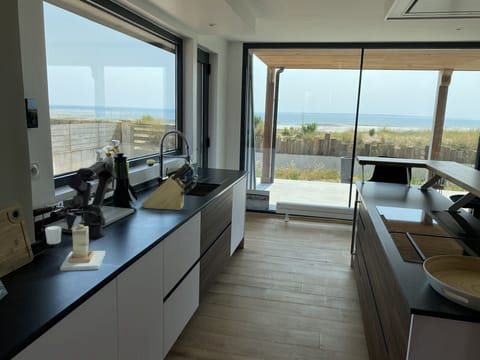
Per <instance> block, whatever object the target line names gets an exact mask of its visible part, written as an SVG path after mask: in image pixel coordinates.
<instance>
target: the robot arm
mask: <svg viewBox="0 0 480 360" xmlns="http://www.w3.org/2000/svg"><path fill="white" fill-rule="evenodd" d="M115 177H116V170H115V168H114V166H111V165H110V164H109V163H108V162H107V161H104V160H102V161H101V160H98V161H96V162H94V163H93V164H92V165H90V166H88V167H81V168H79V169H78V170H77V172H76V173H74V175H73V176H72V177H70V179H69V180H68V182H67V184H68V187H69V188H70V189H72V190H73V191H74V192H76V194H75V195H74V196H72V199H63V200H62V205H63V207H61V208H60V209H59V210H60V211H59V214H61V215H62V216H64V217H65V220H66V225H67V230H68V231H71V230H72V229H73V225H74V224H75V221H76V218H77V214H79V213H83V216H82V217H83V218H82V219H83V226H88V235H89V239H90V240H91V239H93V240H99V239H100V238H103V237H105V236H106V234H103V227H104V226H106V221H107V220H106V217H105V216H104V213H103V209H102V208H103V203H104V200H105V197H106V194H107V190H108V187H109V185H110V184H111V183H112V182H113V181H114V179H115ZM96 179H97V180H98V183H97V186H96V189H95V193H94V197H93V199H92V198H91V192H92V189H93V185H92V183H91V182H94V181H96ZM91 201H92V203H91V204H89V203H90V202H91Z"/></svg>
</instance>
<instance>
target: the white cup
mask: <svg viewBox="0 0 480 360" xmlns="http://www.w3.org/2000/svg"><path fill="white" fill-rule="evenodd" d="M44 231H45V237H46V244H48V245H57V244H60V243H61V241H62V239H61V238H62V227H61V226H60V225H52V226H47V227H45V228H44Z"/></svg>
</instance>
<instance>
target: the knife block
mask: <svg viewBox="0 0 480 360" xmlns="http://www.w3.org/2000/svg"><path fill="white" fill-rule="evenodd" d="M194 169H195V168H194V166H193V165H191V164H190V163H189V161H187V162H185V163H184V164H183V165H182V166H181V167H180V168H179V169H178V170H176V171H175V172H174V174H172V175H170V177H169V178H167V179H166V180H165V181H164V182H162V184H161V185H160V186H159V187H158V188H157V189H155V190H154V191H153V192H152V193H151V194H150V195H149V196H148V197H147V198H146V199H144V201H142V202H141V203H140V204H141V206H142V207H143V209H145V208H146V209H158V210H176V211H181V210H182V208H183V207H184V203H185V195H186V194H187V193H189V192H190V191H191V190H192V189H195V187H196V186H197V182H194V181H195V180H196V179H197V178H198V176H199V175H198V174H195V175H191V176H190V177H189V178H188V179H186V180H185V181H184V183H183V182H182V181H183V179H184V178H186V177H187V176H188V175H189V174H190V173H192V171H193V170H194ZM193 182H194V183H193Z"/></svg>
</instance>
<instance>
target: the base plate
mask: <svg viewBox="0 0 480 360" xmlns="http://www.w3.org/2000/svg"><path fill="white" fill-rule="evenodd" d="M105 255H106V250H89V257H88V258H73V251H70V252H69V254H68V255H67V257H66V258H65V260H64V261H63V262H62V264H61V265H60V271H61V272H64V271H88V270H90V271H91V270H99V269H100V266H101V264H102V262H103V260H104V257H105Z"/></svg>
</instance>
